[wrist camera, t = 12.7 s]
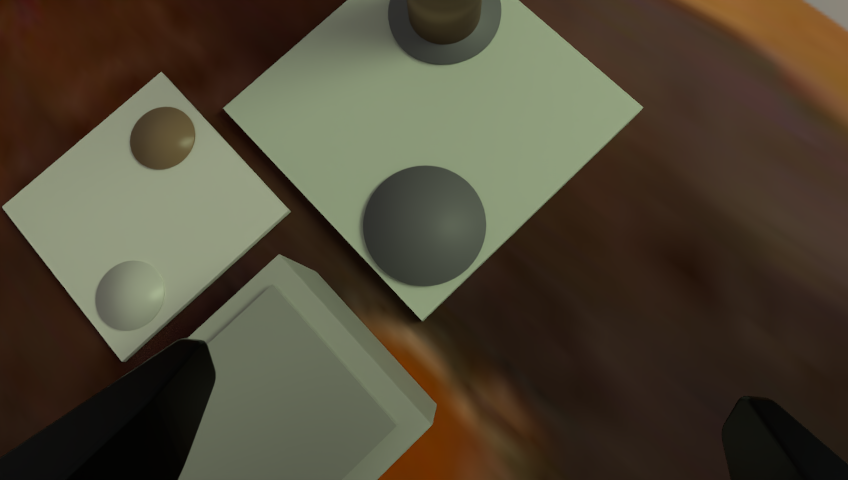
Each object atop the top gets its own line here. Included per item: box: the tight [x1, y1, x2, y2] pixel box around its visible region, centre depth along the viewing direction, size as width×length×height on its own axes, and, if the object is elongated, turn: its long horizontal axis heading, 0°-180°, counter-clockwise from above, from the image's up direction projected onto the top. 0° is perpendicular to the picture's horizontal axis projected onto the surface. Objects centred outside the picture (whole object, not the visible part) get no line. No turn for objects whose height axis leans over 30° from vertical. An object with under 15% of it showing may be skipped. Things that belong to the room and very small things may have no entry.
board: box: [223, 0, 643, 321], centre depth 24 cm, size 14×14×1 cm
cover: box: [178, 254, 437, 480], centre depth 19 cm, size 8×8×5 cm
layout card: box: [2, 72, 291, 362], centre depth 24 cm, size 10×10×1 cm
